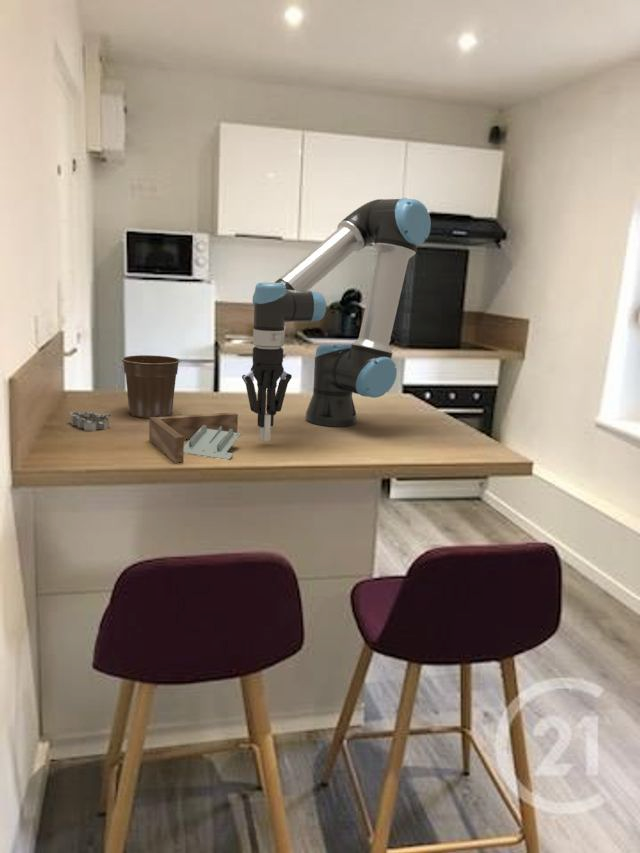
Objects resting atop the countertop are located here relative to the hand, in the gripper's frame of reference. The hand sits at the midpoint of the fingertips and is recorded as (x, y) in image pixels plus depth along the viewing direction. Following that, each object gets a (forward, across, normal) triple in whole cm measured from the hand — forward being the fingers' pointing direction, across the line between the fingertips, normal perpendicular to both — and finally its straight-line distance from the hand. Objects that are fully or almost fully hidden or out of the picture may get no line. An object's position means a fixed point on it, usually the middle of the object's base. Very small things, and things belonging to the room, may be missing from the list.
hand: (264, 438), depth 175 cm
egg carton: (+2, -37, +31) cm, 48 cm away
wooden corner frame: (+1, -15, +2) cm, 15 cm away
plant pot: (+2, -17, +40) cm, 44 cm away
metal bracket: (+2, -15, 0) cm, 15 cm away
